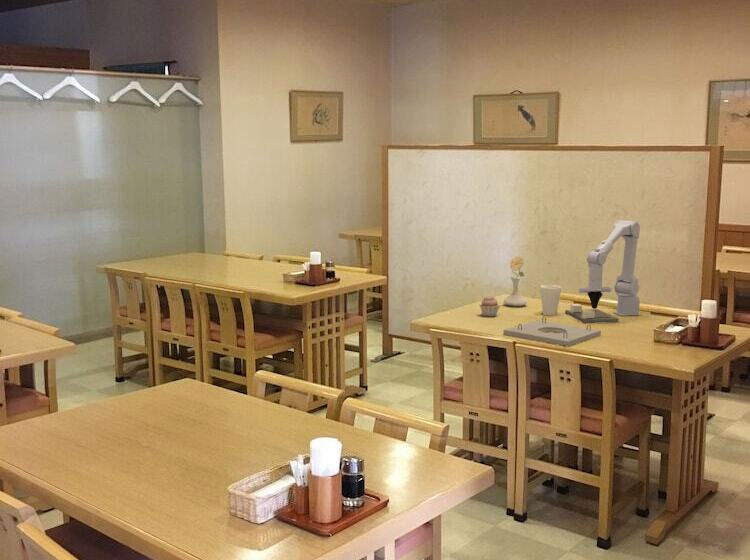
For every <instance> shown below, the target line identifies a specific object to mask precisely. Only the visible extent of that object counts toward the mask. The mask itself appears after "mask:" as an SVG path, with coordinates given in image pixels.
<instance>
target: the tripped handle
mask: <svg viewBox="0 0 750 560" xmlns="http://www.w3.org/2000/svg"><path fill="white" fill-rule="evenodd" d="M582 310H583V311H582V317H584V318H594V315H595V311H592V310H587V309H582Z"/></svg>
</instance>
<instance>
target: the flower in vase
mask: <svg viewBox="0 0 750 560" xmlns="http://www.w3.org/2000/svg"><path fill="white" fill-rule="evenodd" d="M524 265H525V259H524V257H522V256H521V255H518V256H515V257H513V259H511V261H510V263H509V266H510V267H509V268H510V270H511V272H512V273H513V274H514V275H516V276H512V277H510V279H511V280H512V293H510V294H509V295H508V296H506V298H504V299H503V303H504V304H505V305H506V306H510V307H521V306H525V305H526V304H527V303H528V301H527V300H526V299H525V297H523V296H522V295H521V294H520V293H519V289H518V288H519V283H520V280H521V279H522V278H521V277H525V273H524V271H521V268H523V266H524ZM515 271H516V272H517V271H518V273H516V272H515Z"/></svg>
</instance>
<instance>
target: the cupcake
mask: <svg viewBox="0 0 750 560" xmlns="http://www.w3.org/2000/svg"><path fill="white" fill-rule="evenodd" d="M479 307H480V310H481V314H482V316H483V317H487V318H494V317H496V316H497V314H498V311H499V308H500V307H501V306H500V305H499V304H498V300H497V298H495V297H493V295H491V294H488V295H486V296H485V297H484V298H483V299H482V300H481V304H479Z"/></svg>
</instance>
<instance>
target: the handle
mask: <svg viewBox="0 0 750 560" xmlns="http://www.w3.org/2000/svg"><path fill="white" fill-rule="evenodd" d="M569 306H570V307H569V310H570V311H572V312H582V310H583V306H582V304H580V303H570V305H569Z"/></svg>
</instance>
